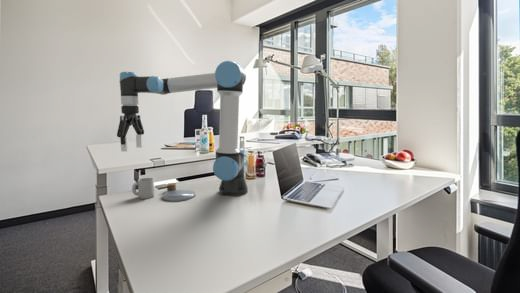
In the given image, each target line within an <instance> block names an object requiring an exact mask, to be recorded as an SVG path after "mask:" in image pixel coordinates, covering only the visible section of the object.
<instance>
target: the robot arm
mask: <svg viewBox="0 0 520 293" xmlns="http://www.w3.org/2000/svg"><path fill="white" fill-rule="evenodd" d="M246 80H247V75H246V72H245V70H244V68H242V67H241V66H240V64H239V63H237V62H235V61H233V60H225V61H222V62H220V64H218V65H217V67H216V69H215V71H214V72H211V73H201V74H193V75H187V76H176V77H169V78H161V77H160V76H154V75H151V76H147V75H146V76H138V74H137V73H136V72H134V71H122V72H120V73H119V87H120V102H121V103H120V104H121V114H123V115H120V116H119V124H118V128H117V132H116V136H117V138H119V139H120V150H121V152H128V151H129V150H128V137H126V136H127V134H128V131H129V129H130V127H131V126H132V128H133V129H134V131H135V133H136V134H135V143H136V146H135V147H136V148H143V135H144V134H145V130H144V126H143V124H142V120H141V115H139V113H140V112H139V106H138V105H139V94H140V93H142V94H143V93H144V94H145V93H147V94H156V95H157V94H158V95H160V96H161V95H168V94H174V93H182V92H191V91H201V90H209V89H210V90H211V89H216V92H217V93H218V94H219V96H220V98H219V99H220V100H219V101H220V102H219V107H220V108H219V130H218V131H219V140H218V141H219V142H218V147H217V149H216V150H215V160H214V163H213V165H212V171H213V174H214V175H215V177H216V178H218V180H221V181H220V184H219V187H218V193H219V194H220V195H222V196H226V197H227V196H228V197H230V196H231V197H236V196H241V195H242V196H243V195H246V194H247V193H248V192H249V187H248V184H247V182H246V179H245V155H246V154H245V150H244V149H242V148H241V149H240V148H239V147H238V139H239V138H238V137H239V135H238V134H239V111H240V110H239V108H240V105H239V104H240V96H241V95H242V94H243V92H244V91H243V90H244V89H243V88H244V87H243V86H244V85H245V82H246Z"/></svg>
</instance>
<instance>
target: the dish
mask: <svg viewBox="0 0 520 293" xmlns="http://www.w3.org/2000/svg"><path fill="white" fill-rule="evenodd" d="M195 197H196V192H195V191H194V190H191V189H176V190H173V191H168V192H167V191H166V192H164V193H162V194H161V198H162V200H163V201H166V202H184V201H187V200H192V199H193V198H195Z"/></svg>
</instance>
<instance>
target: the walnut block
mask: <svg viewBox="0 0 520 293" xmlns="http://www.w3.org/2000/svg"><path fill="white" fill-rule="evenodd" d="M173 190H177V183H173V182H172V183H167V186H166V192H168V191H173Z"/></svg>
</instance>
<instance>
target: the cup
mask: <svg viewBox="0 0 520 293" xmlns="http://www.w3.org/2000/svg"><path fill="white" fill-rule="evenodd" d="M137 188H138V189H137ZM136 189H137V190H138V192H137V190H136ZM131 191H132V194H133V195H135V196H138V198H139V199H141V200H149V199H152V198H154V196H155V182H154V178H153V177H143V178H139V179H137V182H134V183H133V184H132V186H131Z"/></svg>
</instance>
